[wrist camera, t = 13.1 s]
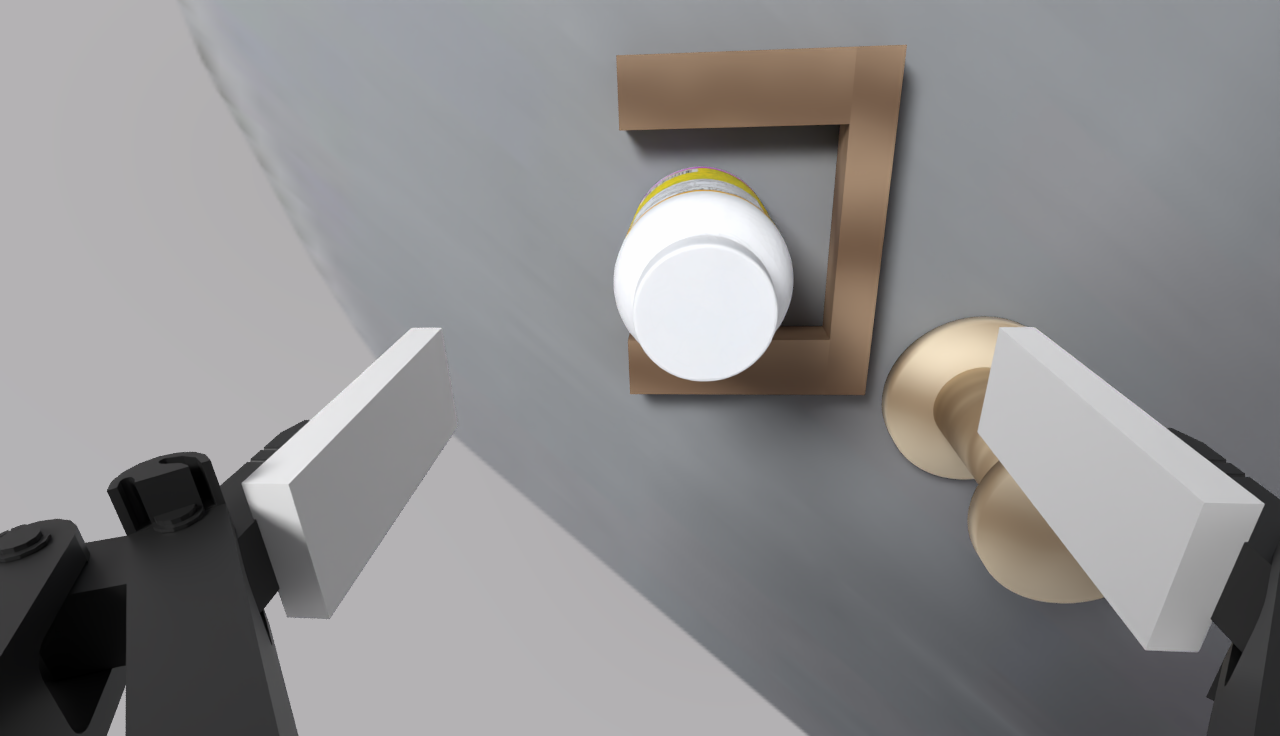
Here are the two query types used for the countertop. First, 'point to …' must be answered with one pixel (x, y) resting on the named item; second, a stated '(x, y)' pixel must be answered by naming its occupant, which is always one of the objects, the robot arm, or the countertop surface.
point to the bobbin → (976, 458)
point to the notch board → (868, 115)
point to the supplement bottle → (703, 275)
